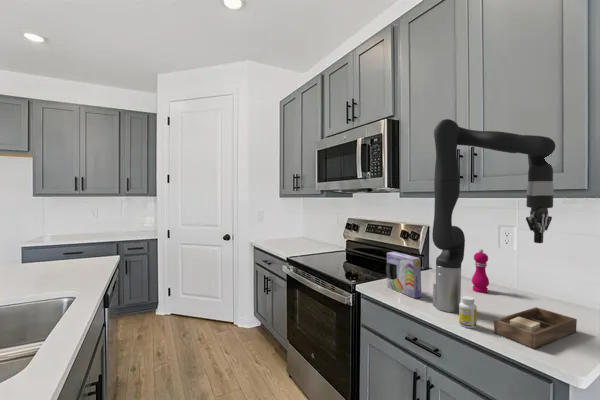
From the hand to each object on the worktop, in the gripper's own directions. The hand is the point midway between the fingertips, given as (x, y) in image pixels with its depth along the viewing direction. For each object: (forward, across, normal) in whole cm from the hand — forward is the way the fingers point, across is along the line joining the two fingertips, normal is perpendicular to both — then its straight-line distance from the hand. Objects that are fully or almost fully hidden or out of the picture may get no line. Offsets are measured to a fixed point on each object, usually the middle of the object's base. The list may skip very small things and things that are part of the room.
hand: (538, 242), depth 111 cm
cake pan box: (+29, +17, -47) cm, 58 cm away
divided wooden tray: (+29, +9, +4) cm, 31 cm away
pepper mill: (+29, -18, -32) cm, 47 cm away
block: (+27, +17, +5) cm, 32 cm away
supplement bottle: (+29, +24, -10) cm, 39 cm away
